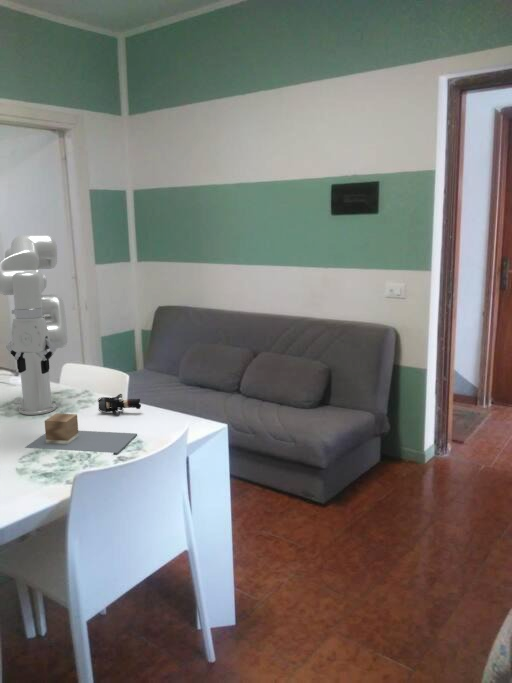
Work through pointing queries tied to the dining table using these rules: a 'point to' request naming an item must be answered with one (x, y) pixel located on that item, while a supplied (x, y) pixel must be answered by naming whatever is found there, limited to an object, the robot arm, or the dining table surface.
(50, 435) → the walnut cube
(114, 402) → the toy
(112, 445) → the slate mat
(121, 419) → the dining table surface
